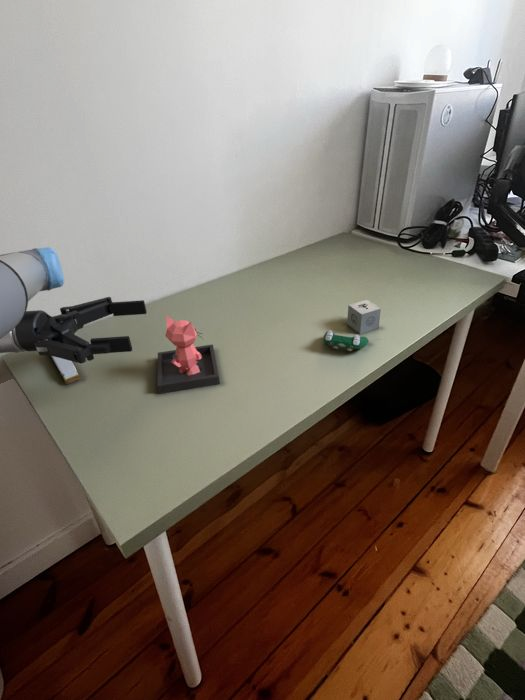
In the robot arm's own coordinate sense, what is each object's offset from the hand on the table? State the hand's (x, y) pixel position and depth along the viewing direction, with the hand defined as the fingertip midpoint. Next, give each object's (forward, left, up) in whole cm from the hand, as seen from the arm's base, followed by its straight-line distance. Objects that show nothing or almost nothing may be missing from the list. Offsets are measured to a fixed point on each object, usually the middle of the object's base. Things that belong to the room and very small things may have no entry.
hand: (138, 324), depth 81 cm
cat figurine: (+7, -1, -12) cm, 14 cm away
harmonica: (-18, +8, -12) cm, 23 cm away
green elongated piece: (+41, -1, -12) cm, 42 cm away
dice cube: (+47, +6, -12) cm, 49 cm away
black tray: (+7, -1, -12) cm, 14 cm away
